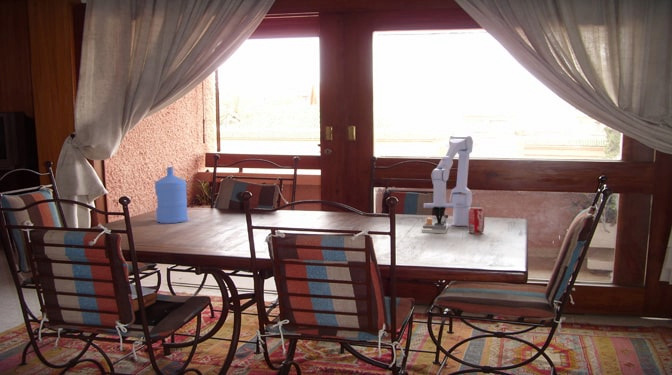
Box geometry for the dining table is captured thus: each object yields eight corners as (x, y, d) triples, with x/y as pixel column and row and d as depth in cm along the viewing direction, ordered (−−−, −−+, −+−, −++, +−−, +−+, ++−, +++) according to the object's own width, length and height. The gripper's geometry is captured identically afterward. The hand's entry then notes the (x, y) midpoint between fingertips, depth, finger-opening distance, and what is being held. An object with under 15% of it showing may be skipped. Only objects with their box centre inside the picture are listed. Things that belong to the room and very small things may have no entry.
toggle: (445, 224, 300) (449, 214, 299) (445, 225, 299) (448, 215, 298) (441, 222, 301) (445, 213, 300) (441, 223, 299) (444, 214, 298)
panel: (448, 226, 303) (448, 219, 303) (445, 233, 287) (445, 225, 286) (425, 225, 306) (425, 218, 305) (421, 232, 290) (421, 224, 289)
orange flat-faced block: (432, 224, 300) (432, 217, 299) (431, 225, 297) (431, 218, 297) (427, 224, 300) (427, 217, 300) (426, 225, 298) (426, 218, 297)
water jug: (194, 220, 326) (192, 166, 323) (171, 224, 313) (169, 169, 310) (173, 217, 335) (170, 165, 331) (150, 222, 321) (147, 168, 318)
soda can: (485, 232, 289) (486, 206, 287) (482, 235, 282) (482, 208, 281) (470, 231, 292) (470, 205, 290) (466, 233, 285) (467, 208, 284)
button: (443, 227, 292) (444, 222, 292) (443, 229, 288) (443, 224, 288) (435, 227, 293) (435, 222, 293) (434, 228, 289) (434, 223, 289)
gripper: (423, 195, 287) (422, 224, 288) (455, 196, 283) (454, 225, 285) (424, 193, 294) (424, 221, 295) (456, 193, 290) (455, 222, 292)
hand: (439, 223), depth 291 cm, fingers closed, pressing on button
